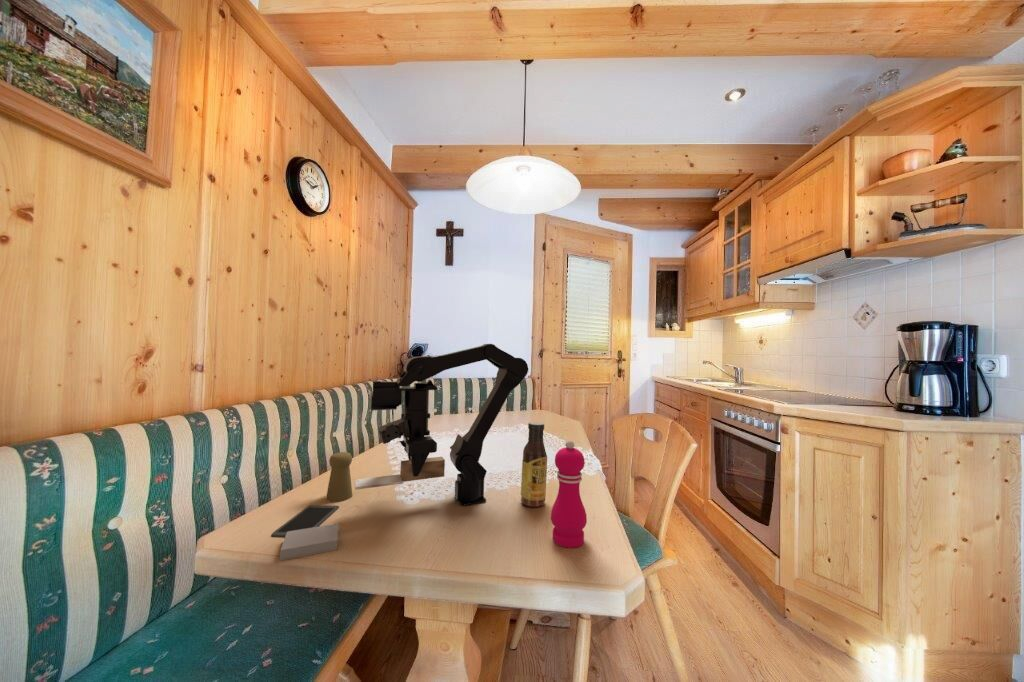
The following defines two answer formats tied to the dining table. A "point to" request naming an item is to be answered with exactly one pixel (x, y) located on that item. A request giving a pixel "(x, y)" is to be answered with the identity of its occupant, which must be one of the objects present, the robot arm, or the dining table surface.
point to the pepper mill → (569, 498)
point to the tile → (309, 541)
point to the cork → (339, 477)
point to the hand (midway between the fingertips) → (414, 473)
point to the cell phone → (306, 519)
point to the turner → (405, 474)
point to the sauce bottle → (534, 467)
